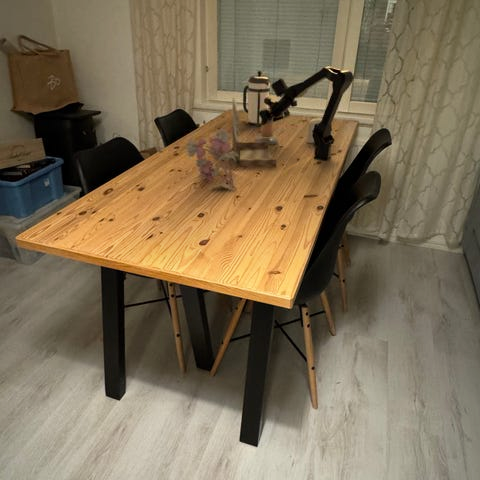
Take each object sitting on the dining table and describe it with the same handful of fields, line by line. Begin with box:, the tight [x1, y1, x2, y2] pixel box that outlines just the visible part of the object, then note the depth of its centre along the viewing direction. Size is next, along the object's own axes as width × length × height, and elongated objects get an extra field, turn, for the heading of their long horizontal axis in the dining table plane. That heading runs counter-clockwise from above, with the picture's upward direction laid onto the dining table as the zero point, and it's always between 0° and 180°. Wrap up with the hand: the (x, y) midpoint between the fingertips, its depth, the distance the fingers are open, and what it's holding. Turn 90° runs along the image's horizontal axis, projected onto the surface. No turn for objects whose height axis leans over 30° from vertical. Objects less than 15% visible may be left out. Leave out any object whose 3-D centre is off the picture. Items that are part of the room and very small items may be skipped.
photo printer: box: [306, 117, 323, 144], centre depth 208 cm, size 10×4×12 cm, turn 98°
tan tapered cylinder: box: [260, 107, 274, 137], centre depth 204 cm, size 6×6×13 cm
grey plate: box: [254, 135, 279, 146], centre depth 209 cm, size 12×12×2 cm
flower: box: [181, 128, 240, 192], centre depth 154 cm, size 20×22×25 cm
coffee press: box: [242, 70, 271, 128], centre depth 236 cm, size 17×16×30 cm
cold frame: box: [232, 96, 278, 168], centre depth 181 cm, size 18×28×25 cm, turn 4°
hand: (265, 123), depth 205 cm, fingers closed on tan tapered cylinder, 6 cm apart
